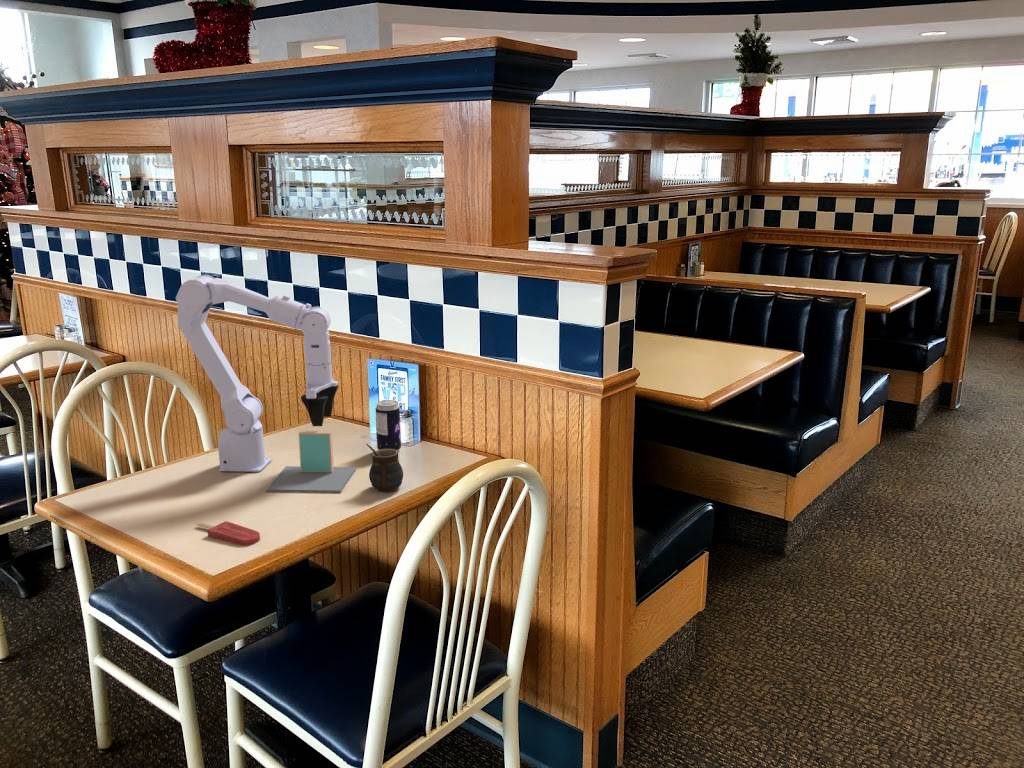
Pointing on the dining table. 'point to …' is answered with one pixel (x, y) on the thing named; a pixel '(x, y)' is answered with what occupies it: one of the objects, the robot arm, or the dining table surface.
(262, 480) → the dining table surface
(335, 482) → the slate pad
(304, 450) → the tile
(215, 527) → the popsicle
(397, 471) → the mate gourd
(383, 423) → the beverage can
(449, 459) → the dining table surface
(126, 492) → the dining table surface
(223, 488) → the dining table surface
